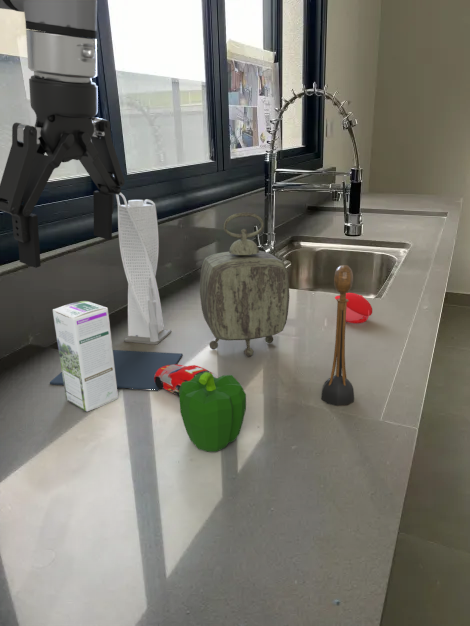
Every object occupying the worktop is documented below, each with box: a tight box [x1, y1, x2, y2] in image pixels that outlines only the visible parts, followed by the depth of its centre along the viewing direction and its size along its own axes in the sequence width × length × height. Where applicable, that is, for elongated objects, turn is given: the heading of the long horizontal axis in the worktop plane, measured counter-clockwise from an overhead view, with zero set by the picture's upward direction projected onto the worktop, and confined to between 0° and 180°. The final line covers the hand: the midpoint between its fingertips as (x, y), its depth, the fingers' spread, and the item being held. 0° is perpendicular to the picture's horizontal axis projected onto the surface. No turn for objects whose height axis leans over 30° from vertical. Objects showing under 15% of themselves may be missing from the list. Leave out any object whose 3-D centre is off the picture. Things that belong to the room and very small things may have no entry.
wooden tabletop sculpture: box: [321, 264, 355, 407], centre depth 70 cm, size 6×5×20 cm
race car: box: [154, 364, 220, 397], centre depth 74 cm, size 13×5×4 cm, turn 47°
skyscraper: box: [115, 191, 172, 345], centre depth 95 cm, size 8×8×28 cm
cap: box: [334, 292, 373, 324], centre depth 105 cm, size 8×6×6 cm
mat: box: [49, 349, 183, 391], centre depth 84 cm, size 18×14×1 cm
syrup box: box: [52, 300, 119, 412], centre depth 71 cm, size 6×6×14 cm
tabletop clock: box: [199, 211, 291, 357], centre depth 86 cm, size 14×9×25 cm, turn 104°
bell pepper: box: [178, 372, 247, 453], centre depth 61 cm, size 8×8×10 cm
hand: (69, 249), depth 67 cm, fingers open, 13 cm apart
